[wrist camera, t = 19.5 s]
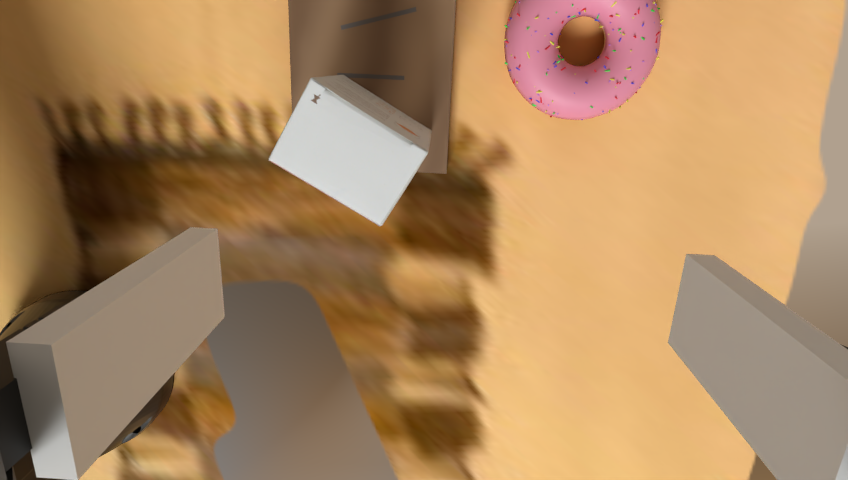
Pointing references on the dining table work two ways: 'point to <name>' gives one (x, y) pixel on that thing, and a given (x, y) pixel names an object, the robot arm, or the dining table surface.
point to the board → (381, 56)
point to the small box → (352, 146)
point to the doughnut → (591, 84)
